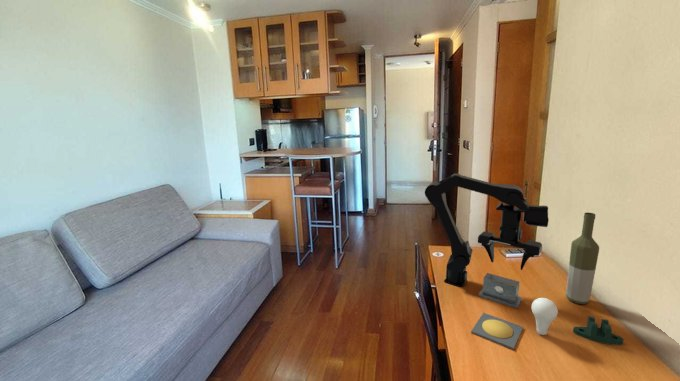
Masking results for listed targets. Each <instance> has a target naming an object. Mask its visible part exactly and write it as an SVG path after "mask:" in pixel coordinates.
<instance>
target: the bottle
mask: <svg viewBox="0 0 680 381" xmlns="http://www.w3.org/2000/svg"><path fill="white" fill-rule="evenodd" d="M595 220H596V213H593V212H589V211H588V212H584V214H583V221H582V222H583V224H582V229H581V230H582V231H581V235H580V236H579V237H577V238H576V239H574V240H573V241H572V242H571V246H570V251H569V252H570V254H569V262H568V271H567V280H566V288H565V296H566V298H567V300H568V301H570V302H573V303H575V304H578V305H579V304H580V305H586V304H588V303H589V302H590V300H591V296H592V290H593V285H594V279H595V275H596V269H597V264H598V263H597V262H598V259H599V254H600V253H599V252H600V245H599V244H598V243H597V242H596V240H595V239H594V238H593V232H594V226H595V225H594V224H595Z"/></svg>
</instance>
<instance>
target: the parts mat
mask: <svg viewBox="0 0 680 381" xmlns="http://www.w3.org/2000/svg"><path fill="white" fill-rule="evenodd" d="M523 330H524V326H522V325H519V324H516V323H513V322H511V321H509V320H506V319H504V318H503V319H502V318H499V317H497V316H494V315H490V314H488V313H486V312H482V314H481V316H480V318H479V319H478V320H477V322H476V323H475V324H474V326H473V328H472V329H471V331H470V333H471V334H473V335H476V336H478V337H480V338H482V339H485V340H488V341H490V342H493V343H495V344H498V345H500V346H503V347H504V348H505V347H506V348H508V349H510V350H513V351H514V350H515V348H516V346H517V342H518V341H519V338H520V336H521V335H522V332H523Z"/></svg>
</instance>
